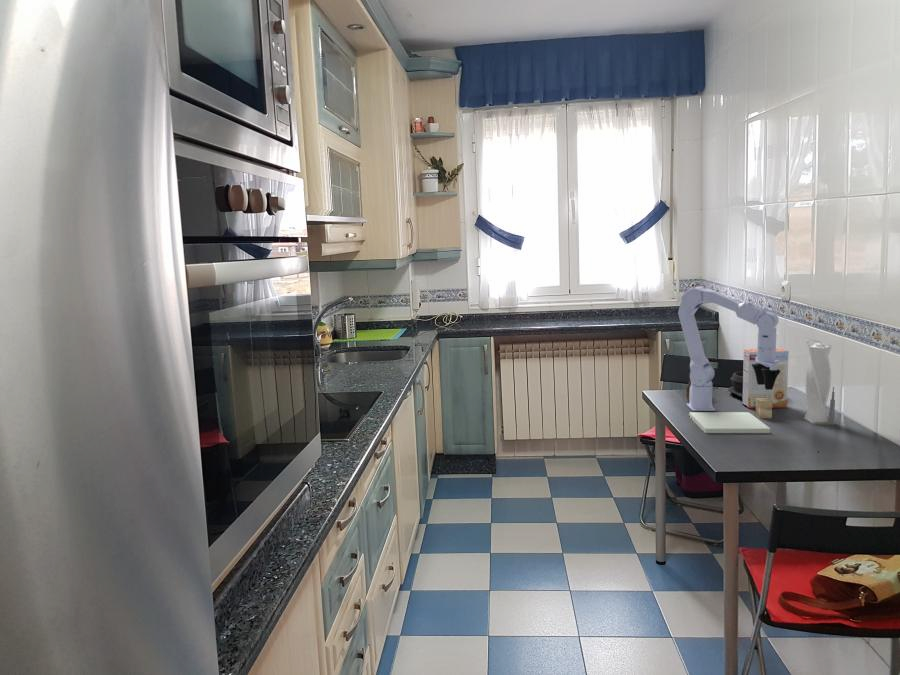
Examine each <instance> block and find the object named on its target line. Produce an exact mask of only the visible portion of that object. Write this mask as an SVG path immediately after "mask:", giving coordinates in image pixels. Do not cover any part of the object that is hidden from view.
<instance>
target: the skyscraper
mask: <svg viewBox="0 0 900 675" xmlns="http://www.w3.org/2000/svg"><path fill="white" fill-rule="evenodd" d="M809 342H814V344H813V345H811V344H810V343H809ZM806 343H807V347H808V352H809V358H808V363H807V366H806V371H805V382H804V385H805V387H804V388H805V399H806V405H807V410H806V413H805V415H804V418H803V419H804V420H805V421H807V422H808V423H811V424H812V425H813V426H814V425H817V426H819V425H824V426H825V425H836V423H835V414H836V413H835V411H836V410H835V408H836V399H835V386H832V391H831V399H830V401H829V402H830V403H829V412H828V418H827V415H826V411H825V408H826V406H827V402H828V398H829V395H830V390H831V382H832V371H831V364H830V358H829V355H830V352H831V349H832V344H829V343H826V342H821V341H819V340H816V339H807V340H806ZM810 345H811V346H810Z"/></svg>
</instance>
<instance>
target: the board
mask: <svg viewBox="0 0 900 675" xmlns="http://www.w3.org/2000/svg"><path fill="white" fill-rule="evenodd" d="M688 416H690V417H689V418H690V419H691V418H692V419H691V420H692V421H693V422H694V423H695V424H696V426H698V428H699V429H701V431H703V433H704V434H771V428H770V427H769V426H767V425H766V424H765V423H764V422H762V421H761V420H760V419H759V418H758V417H757V416H754V415H753V414H752V413H750V412H748V411H747V412H746V411H745V412H744V411H743V412H742V411H741V412H740V411H738V412H737V411H731V412H730V411H728V412H727V411H726V412H725V411H724V412H723V411H722V412H721V411H720V412H719V411H718V412H717V411H692V412H689V413H688Z"/></svg>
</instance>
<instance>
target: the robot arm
mask: <svg viewBox="0 0 900 675" xmlns="http://www.w3.org/2000/svg"><path fill="white" fill-rule="evenodd" d="M680 300H681V301H680V303H679V308H678V312H677V314H678V317H679V318H678V320H679V322H680V325H681V329H682V333H683V336H684V340H685V344H686V348H687V351H688V355H689V356H688V357H689V359H690V361H689V362H690V363H689V369H690V372H689V379H690V380H691V386H690V390H689V401H688V403H686V406H687V407H688V408H689V409H691V411H692V412H716V408H714V407H713V384H714V383H713V382H712V380H713V379H714V377H715V369H714V367H712V365H711V363H710V361H709V359H708V357H706V355H705V350H704V346H703V343H702V339H701V334H700V332H699V327H698V324H697V320H696V317H695V314H696V312H697V311H698V309H699V308H700V307H701V306H702V305H704V304H715V305H718V306H721V307H722V308H725V309H728V310H730V311H733V312H735V314H736V316H737V318H739V319H742V320H743V321H746V322H748V323H751V325H756V326H757V328H758V331H757V332H758V334H757V348H756V349H757V357H756V360H755V362H756V364H752V367H753V369H754V371H755V374H756V380H757V384H758V385H764V384H765V389H766V390H772V389H773V386H774V383H775V380H776V378H777V376H778V374H779V373H780V370H779V369H777V364H776V363H779V361H778V360H775V356H776V349H777V326H778V324H779V316H778V315H777V314H776V313H775V312H773V311H769V310H768V311H767V309H766V308H760V307H758V306H755V305H754V304H753V302H752V301H748V302H747V301H743V302H738V301H736V300H734V299H732V298H729V297H727V296H726V295H724V294H721V293H720V292H718V291H715V290H713V289H711V288H706V287H705V286H702V285H698V286H695V287H691V288H688V289H686V290H685V291H684V293H682V295H681V298H680ZM690 380H689V381H690Z"/></svg>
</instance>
